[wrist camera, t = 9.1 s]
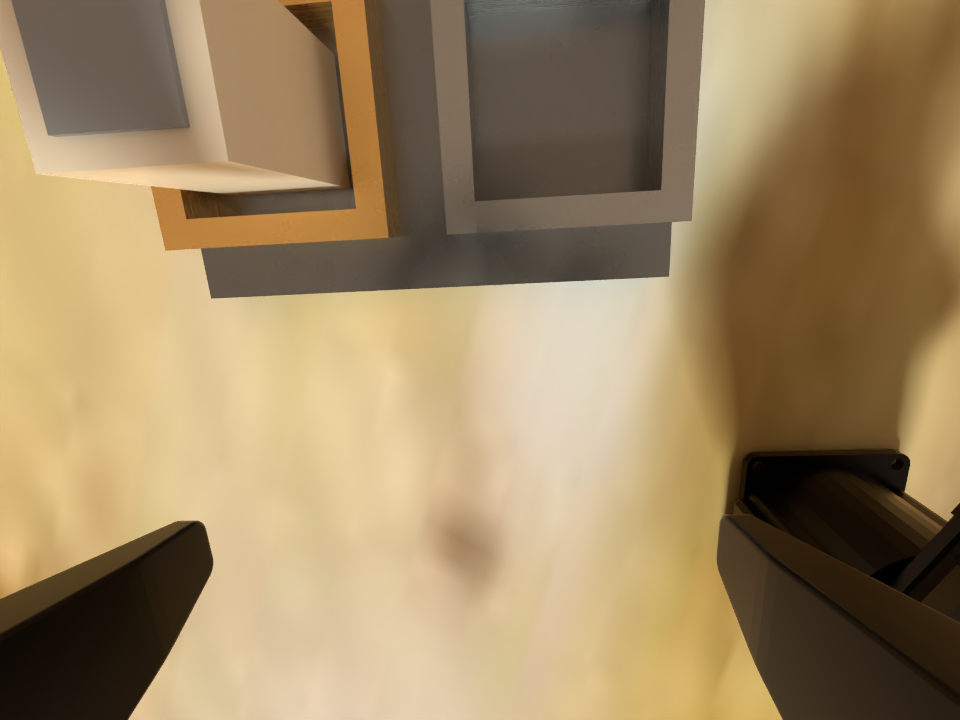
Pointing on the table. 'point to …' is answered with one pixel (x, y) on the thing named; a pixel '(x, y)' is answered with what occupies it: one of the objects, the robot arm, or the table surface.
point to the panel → (475, 151)
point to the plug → (175, 94)
